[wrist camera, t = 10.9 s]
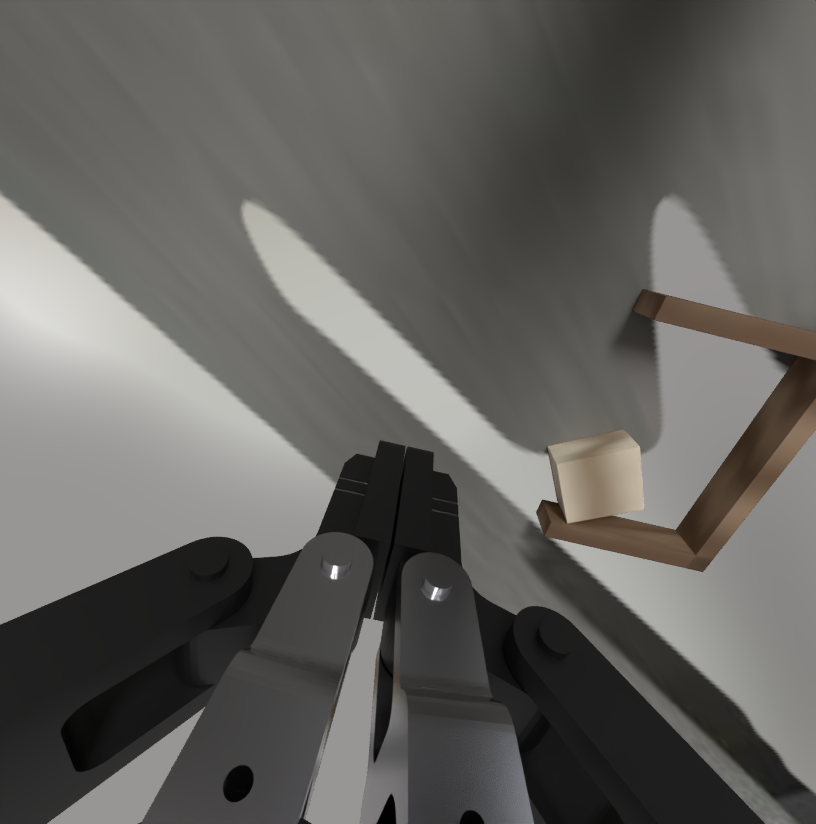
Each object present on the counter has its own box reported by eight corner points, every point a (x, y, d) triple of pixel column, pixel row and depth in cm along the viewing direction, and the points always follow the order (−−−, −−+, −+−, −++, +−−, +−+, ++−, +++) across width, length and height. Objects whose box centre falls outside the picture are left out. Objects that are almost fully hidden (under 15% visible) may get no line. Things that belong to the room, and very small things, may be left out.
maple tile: (622, 427, 31) (639, 446, 29) (627, 486, 34) (644, 509, 31) (546, 444, 32) (556, 464, 30) (557, 500, 35) (567, 523, 32)
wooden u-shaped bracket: (642, 289, 26) (666, 296, 24) (834, 337, 27) (879, 349, 24) (536, 512, 35) (544, 536, 32) (682, 545, 36) (703, 571, 33)
